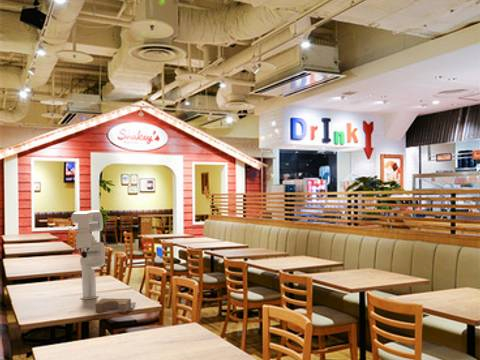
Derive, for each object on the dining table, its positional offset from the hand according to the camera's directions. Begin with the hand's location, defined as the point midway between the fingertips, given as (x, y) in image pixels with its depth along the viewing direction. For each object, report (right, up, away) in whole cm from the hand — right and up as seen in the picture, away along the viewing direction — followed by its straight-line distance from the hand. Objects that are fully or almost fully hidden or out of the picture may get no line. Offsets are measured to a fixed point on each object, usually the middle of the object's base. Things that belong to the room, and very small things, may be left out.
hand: (84, 257), depth 320 cm
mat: (+25, -32, -7) cm, 42 cm away
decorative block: (+13, -29, -14) cm, 35 cm away
